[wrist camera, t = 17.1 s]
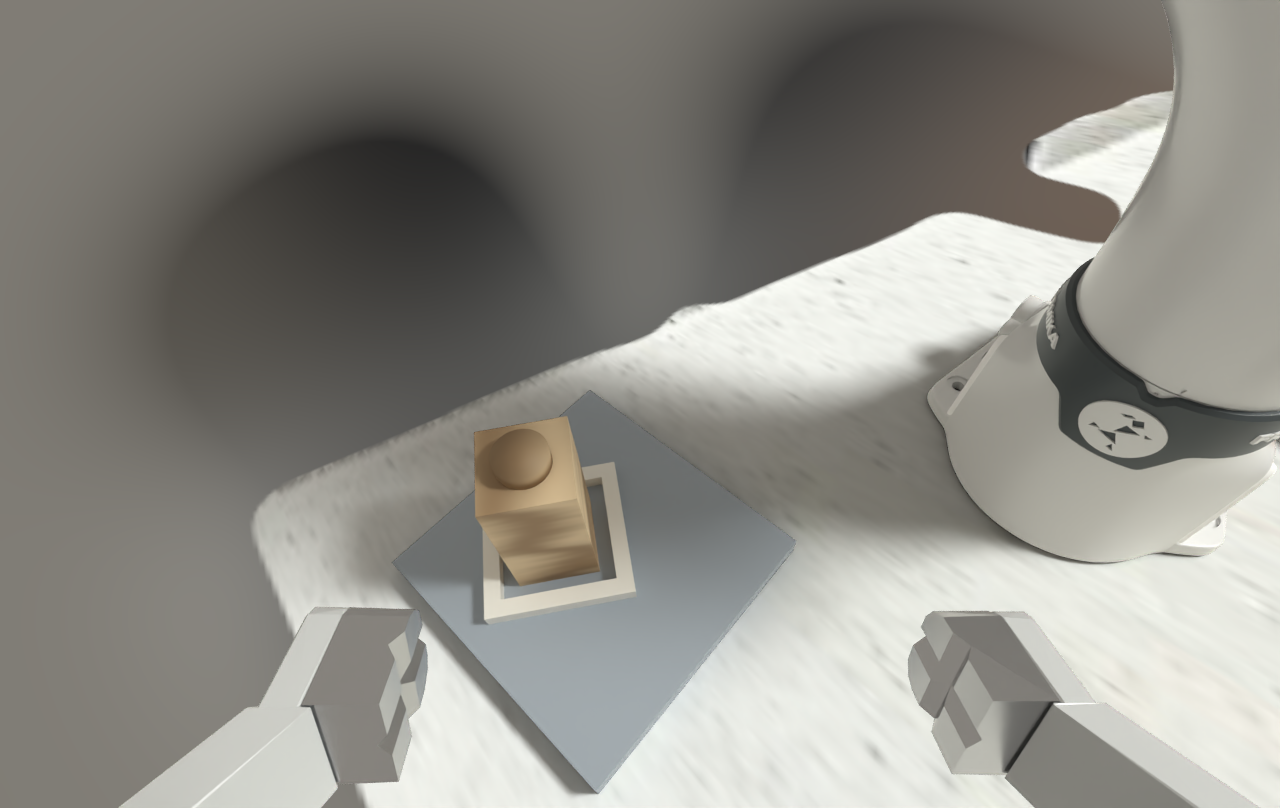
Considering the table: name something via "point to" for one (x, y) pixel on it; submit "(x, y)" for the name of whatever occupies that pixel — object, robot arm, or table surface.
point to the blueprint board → (619, 630)
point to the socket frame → (569, 596)
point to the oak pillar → (535, 500)
